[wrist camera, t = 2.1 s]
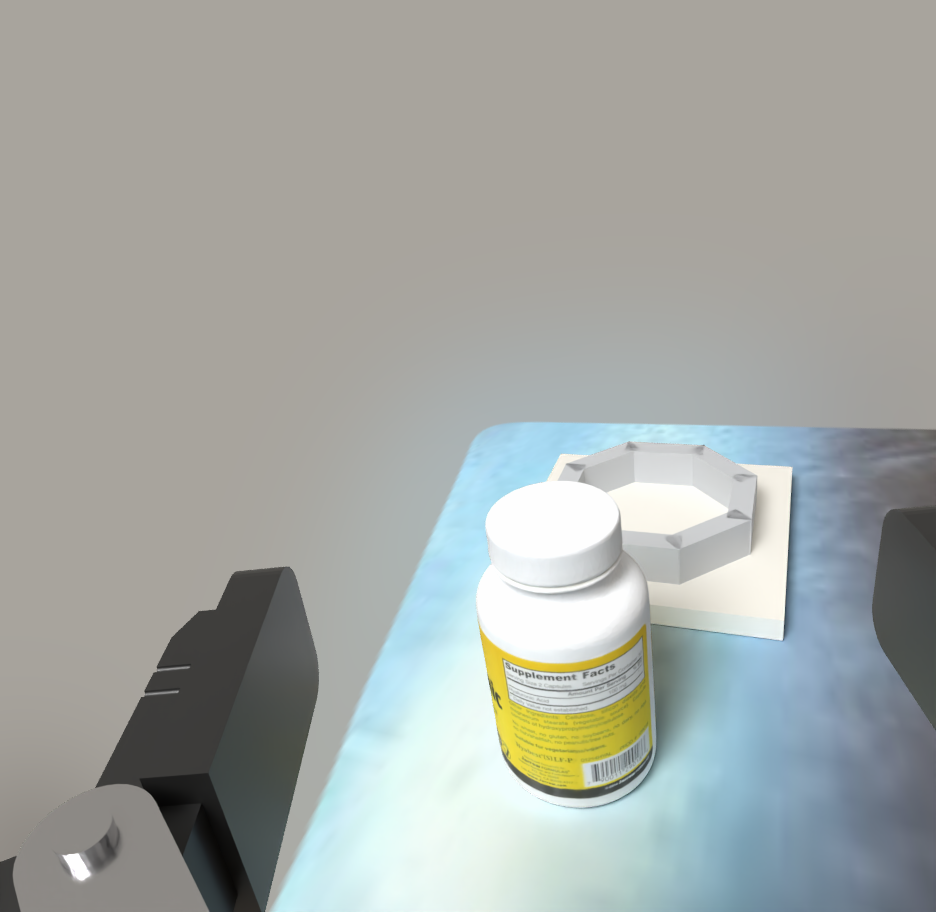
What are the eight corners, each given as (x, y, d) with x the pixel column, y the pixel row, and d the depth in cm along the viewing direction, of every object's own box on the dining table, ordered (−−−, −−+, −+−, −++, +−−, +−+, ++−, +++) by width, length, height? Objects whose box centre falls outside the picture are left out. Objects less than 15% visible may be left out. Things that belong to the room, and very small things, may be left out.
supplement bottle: (525, 681, 32) (496, 462, 27) (667, 705, 30) (661, 473, 25) (479, 795, 27) (435, 557, 23) (641, 832, 25) (628, 579, 21)
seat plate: (791, 484, 41) (794, 435, 40) (782, 640, 32) (786, 583, 30) (562, 469, 46) (558, 424, 44) (493, 603, 36) (486, 551, 35)
